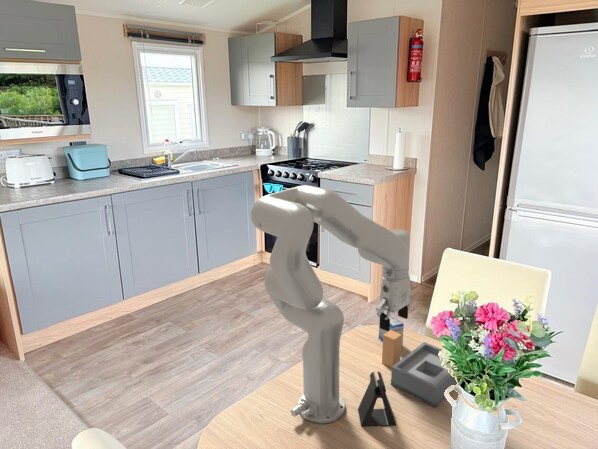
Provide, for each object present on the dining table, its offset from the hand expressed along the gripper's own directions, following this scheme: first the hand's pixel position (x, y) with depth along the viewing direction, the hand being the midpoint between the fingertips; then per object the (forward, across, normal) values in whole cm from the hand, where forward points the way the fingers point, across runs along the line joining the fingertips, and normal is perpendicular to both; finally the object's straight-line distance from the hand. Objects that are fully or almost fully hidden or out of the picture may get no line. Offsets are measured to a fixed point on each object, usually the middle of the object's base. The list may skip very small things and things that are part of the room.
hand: (393, 323), depth 132 cm
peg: (+14, -1, 0) cm, 14 cm away
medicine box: (+14, +9, +7) cm, 18 cm away
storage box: (+14, -1, -13) cm, 19 cm away
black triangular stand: (+14, -24, -11) cm, 29 cm away
